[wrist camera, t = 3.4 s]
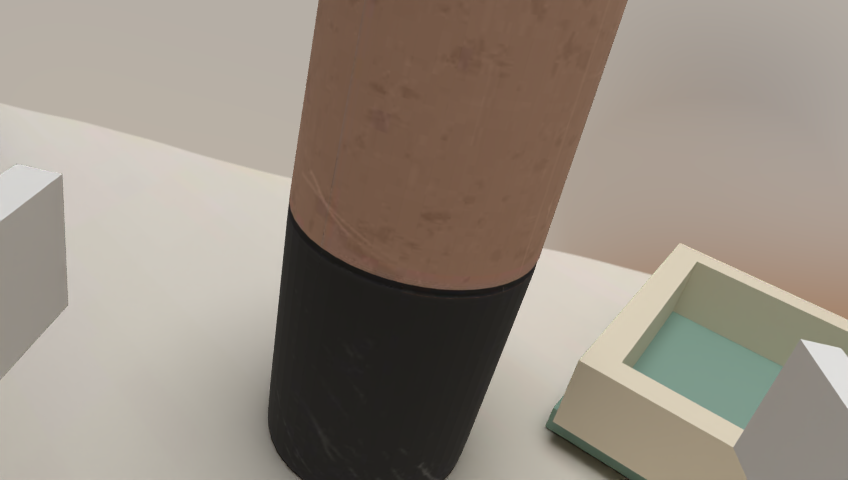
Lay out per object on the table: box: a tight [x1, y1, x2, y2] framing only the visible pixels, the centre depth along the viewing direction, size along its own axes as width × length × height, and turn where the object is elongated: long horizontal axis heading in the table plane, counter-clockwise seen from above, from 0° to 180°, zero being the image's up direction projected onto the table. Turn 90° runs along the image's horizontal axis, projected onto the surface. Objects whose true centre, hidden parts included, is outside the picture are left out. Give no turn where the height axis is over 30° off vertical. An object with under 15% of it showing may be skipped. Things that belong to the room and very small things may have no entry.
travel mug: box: [268, 0, 628, 480], centre depth 20 cm, size 8×8×20 cm
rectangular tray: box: [546, 243, 848, 480], centre depth 27 cm, size 18×13×4 cm
